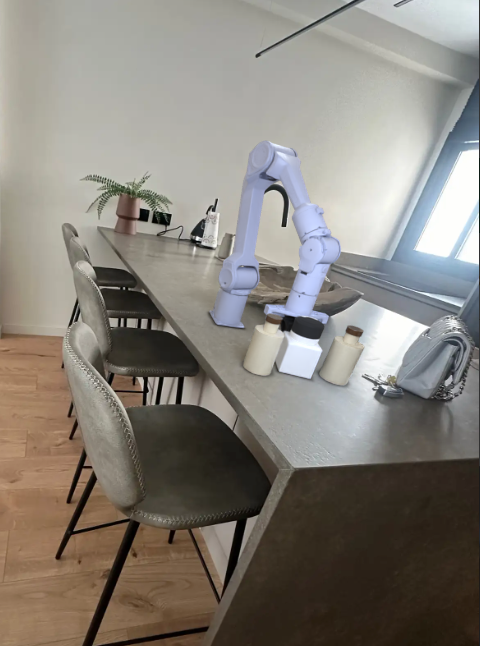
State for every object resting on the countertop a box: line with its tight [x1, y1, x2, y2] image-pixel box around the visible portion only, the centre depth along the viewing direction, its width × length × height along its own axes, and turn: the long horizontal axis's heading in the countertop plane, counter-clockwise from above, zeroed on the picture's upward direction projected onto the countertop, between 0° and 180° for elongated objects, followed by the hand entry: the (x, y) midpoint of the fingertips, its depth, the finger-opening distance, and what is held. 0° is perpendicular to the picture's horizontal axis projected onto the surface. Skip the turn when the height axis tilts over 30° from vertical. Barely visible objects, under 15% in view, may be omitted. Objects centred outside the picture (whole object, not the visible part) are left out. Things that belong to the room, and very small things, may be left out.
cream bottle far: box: [318, 324, 365, 386], centre depth 80 cm, size 6×6×12 cm
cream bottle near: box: [242, 313, 284, 377], centre depth 77 cm, size 6×6×12 cm
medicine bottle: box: [275, 316, 325, 380], centre depth 80 cm, size 7×7×12 cm
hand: (284, 346), depth 87 cm, fingers closed
